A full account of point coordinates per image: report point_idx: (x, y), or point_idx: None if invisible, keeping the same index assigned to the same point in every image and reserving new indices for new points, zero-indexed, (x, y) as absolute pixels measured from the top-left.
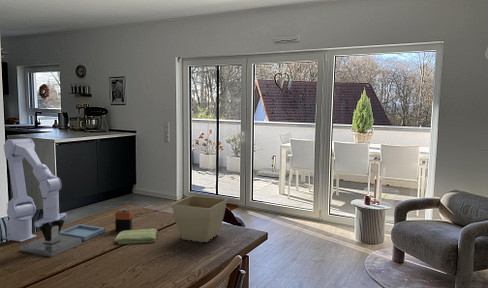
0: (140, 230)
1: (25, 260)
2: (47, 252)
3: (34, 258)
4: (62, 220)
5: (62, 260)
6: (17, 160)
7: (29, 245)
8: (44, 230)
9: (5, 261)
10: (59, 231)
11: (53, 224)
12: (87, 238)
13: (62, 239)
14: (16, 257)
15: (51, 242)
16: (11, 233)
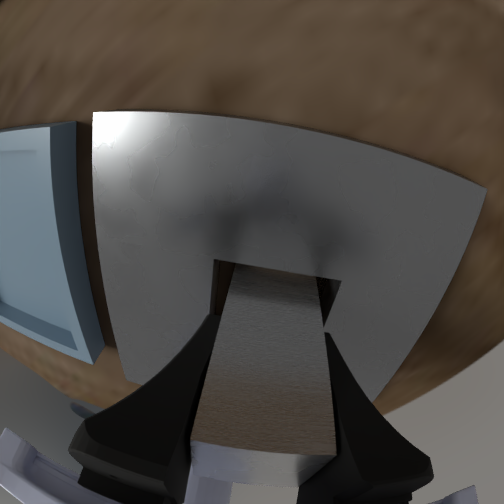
0: None
1: (489, 295)
2: (469, 223)
3: (474, 270)
4: (92, 464)
5: (496, 64)
6: None
7: None
8: None
9: (475, 359)
10: (189, 354)
11: (187, 466)
12: (46, 125)
13: (174, 277)
14: (442, 357)
15: (319, 307)
16: None
